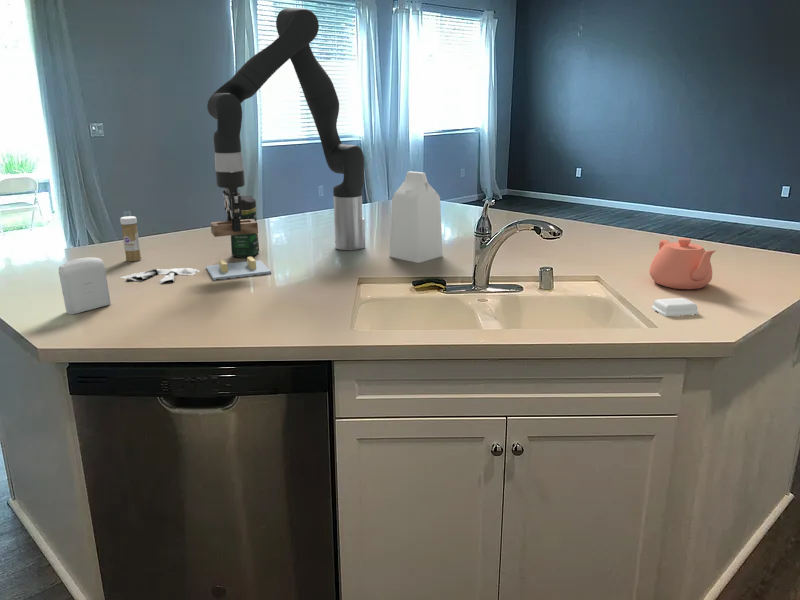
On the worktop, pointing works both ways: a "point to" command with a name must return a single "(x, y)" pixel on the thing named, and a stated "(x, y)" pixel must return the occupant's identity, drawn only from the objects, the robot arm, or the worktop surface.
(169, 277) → the cloth
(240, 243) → the coffee jar
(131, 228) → the sprinkles bottle
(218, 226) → the frame
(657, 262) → the teapot
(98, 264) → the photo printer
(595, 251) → the worktop surface
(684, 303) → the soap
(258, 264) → the panel
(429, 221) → the milk
